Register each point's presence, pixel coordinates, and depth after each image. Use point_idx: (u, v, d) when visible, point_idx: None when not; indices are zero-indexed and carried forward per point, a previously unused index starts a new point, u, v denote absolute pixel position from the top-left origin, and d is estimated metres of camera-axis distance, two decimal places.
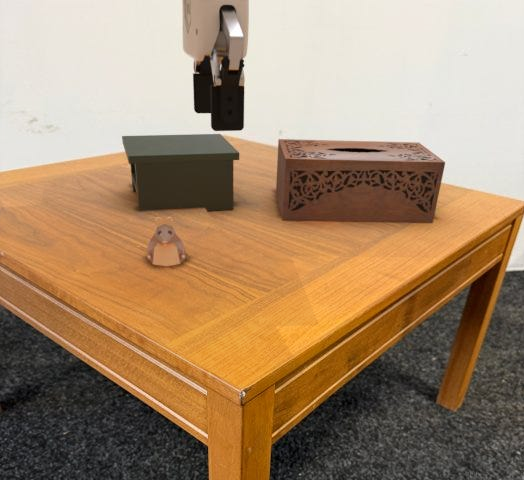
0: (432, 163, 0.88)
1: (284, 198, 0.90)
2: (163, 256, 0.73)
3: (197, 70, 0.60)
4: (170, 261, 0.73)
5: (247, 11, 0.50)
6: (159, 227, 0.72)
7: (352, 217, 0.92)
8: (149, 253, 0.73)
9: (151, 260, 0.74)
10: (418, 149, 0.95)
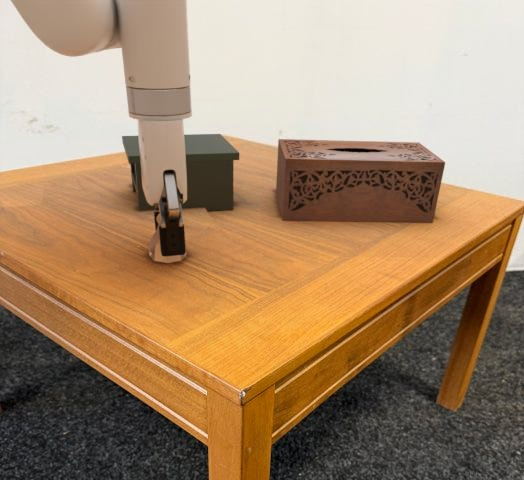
0: (432, 163, 0.88)
1: (284, 198, 0.90)
2: None
3: (157, 208, 0.75)
4: (171, 257, 0.74)
5: (185, 172, 0.66)
6: None
7: (352, 217, 0.92)
8: (151, 250, 0.74)
9: (152, 257, 0.74)
10: (418, 149, 0.95)
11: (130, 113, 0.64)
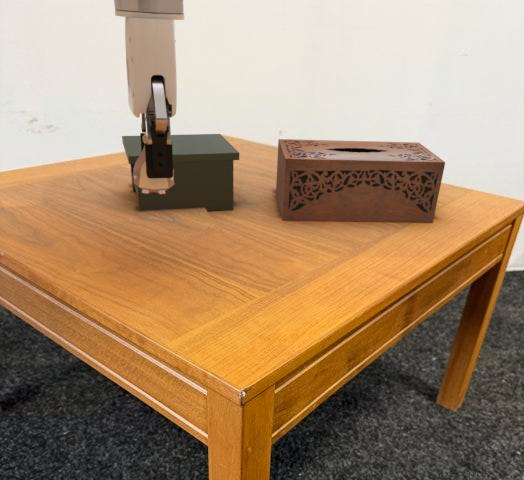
0: (432, 163, 0.88)
1: (284, 198, 0.90)
2: None
3: (144, 129, 0.69)
4: (157, 182, 0.69)
5: (174, 79, 0.60)
6: None
7: (352, 217, 0.92)
8: (135, 173, 0.69)
9: (137, 181, 0.69)
10: (418, 149, 0.95)
11: (117, 11, 0.59)
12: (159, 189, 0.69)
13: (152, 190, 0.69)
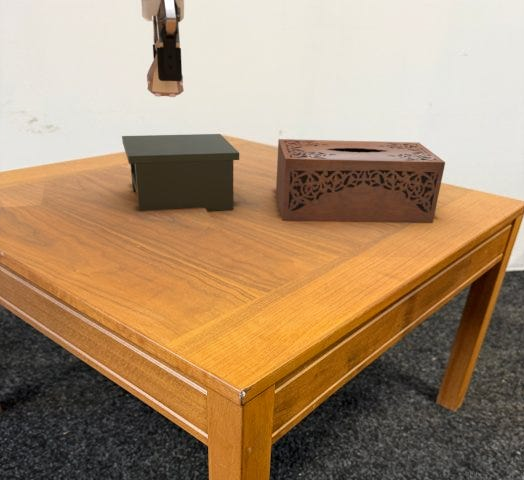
0: (432, 163, 0.88)
1: (284, 198, 0.90)
2: None
3: (156, 40, 0.78)
4: (168, 86, 0.77)
5: None
6: None
7: (352, 217, 0.92)
8: (149, 78, 0.77)
9: (151, 86, 0.78)
10: (418, 149, 0.95)
11: None
12: (170, 93, 0.77)
13: (164, 94, 0.77)
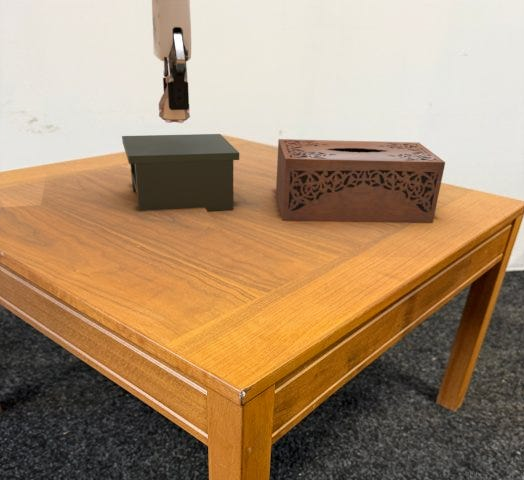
0: (432, 163, 0.88)
1: (284, 198, 0.90)
2: None
3: (165, 74, 0.91)
4: (177, 113, 0.90)
5: (190, 30, 0.82)
6: None
7: (352, 217, 0.92)
8: (160, 107, 0.90)
9: (162, 114, 0.91)
10: (418, 149, 0.95)
11: None
12: (179, 119, 0.90)
13: (173, 120, 0.90)
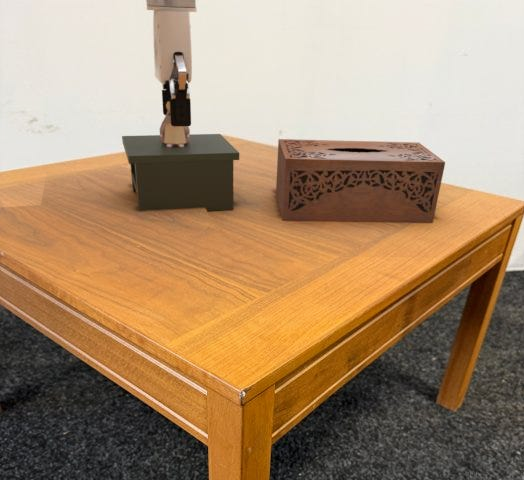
0: (432, 163, 0.88)
1: (284, 198, 0.90)
2: (172, 134, 0.92)
3: (164, 88, 0.94)
4: (178, 138, 0.92)
5: (190, 55, 0.84)
6: (169, 110, 0.91)
7: (352, 217, 0.92)
8: (161, 132, 0.92)
9: (163, 138, 0.93)
10: (418, 149, 0.95)
11: (148, 6, 0.82)
12: (179, 144, 0.92)
13: (174, 144, 0.92)
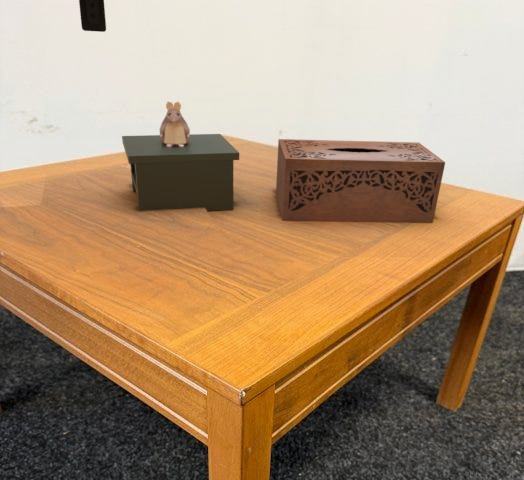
0: (432, 163, 0.88)
1: (284, 198, 0.90)
2: (172, 134, 0.92)
3: None
4: (178, 138, 0.92)
5: None
6: (169, 110, 0.91)
7: (352, 217, 0.92)
8: (161, 132, 0.92)
9: (163, 138, 0.93)
10: (418, 149, 0.95)
11: None
12: (179, 144, 0.92)
13: (174, 144, 0.92)
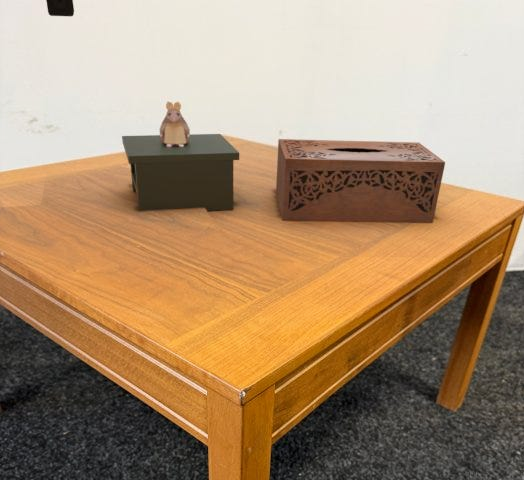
0: (432, 163, 0.88)
1: (284, 198, 0.90)
2: (172, 134, 0.92)
3: None
4: (178, 138, 0.92)
5: None
6: (169, 110, 0.91)
7: (352, 217, 0.92)
8: (161, 132, 0.92)
9: (163, 138, 0.93)
10: (418, 149, 0.95)
11: None
12: (179, 144, 0.92)
13: (174, 144, 0.92)
